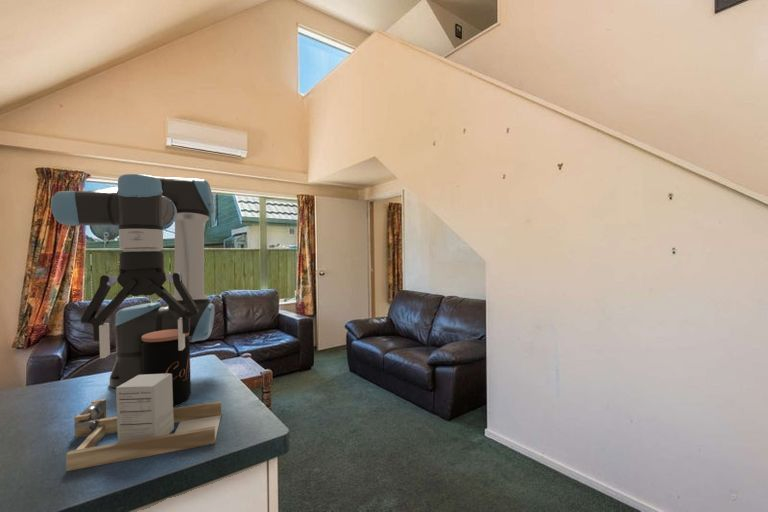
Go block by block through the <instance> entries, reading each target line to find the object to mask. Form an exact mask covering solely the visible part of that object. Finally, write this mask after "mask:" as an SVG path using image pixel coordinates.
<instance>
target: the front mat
mask: <svg viewBox="0 0 768 512" xmlns="http://www.w3.org/2000/svg"><path fill="white" fill-rule="evenodd" d="M221 416H222V414H221V415H218V416H212V417H206V418H199V419H193V420H187V421H181V422H178V425H177V428H176V430H175V432H174V433H178V432H184V431H190V430H196V429H202V428H208V427H213V426H215V440H216V439H217V435H218V430H219V425H220V421H221Z"/></svg>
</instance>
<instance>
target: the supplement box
mask: <svg viewBox="0 0 768 512" xmlns="http://www.w3.org/2000/svg"><path fill="white" fill-rule="evenodd" d="M115 399H116V416H117V432H116V433H117V443H120V442H126V441H131V440H137V439H143V438H149V437H155V436H161V435H167V434H171V433H172V431H174V429H175V423H174V417H173V408H174V407H173V389H172V374H145V375H137V376H136V377H134V378H132V379H130V380H129V381H127V382H125V383H123V384H122V385H120V386H118V387H116V388H115Z"/></svg>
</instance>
